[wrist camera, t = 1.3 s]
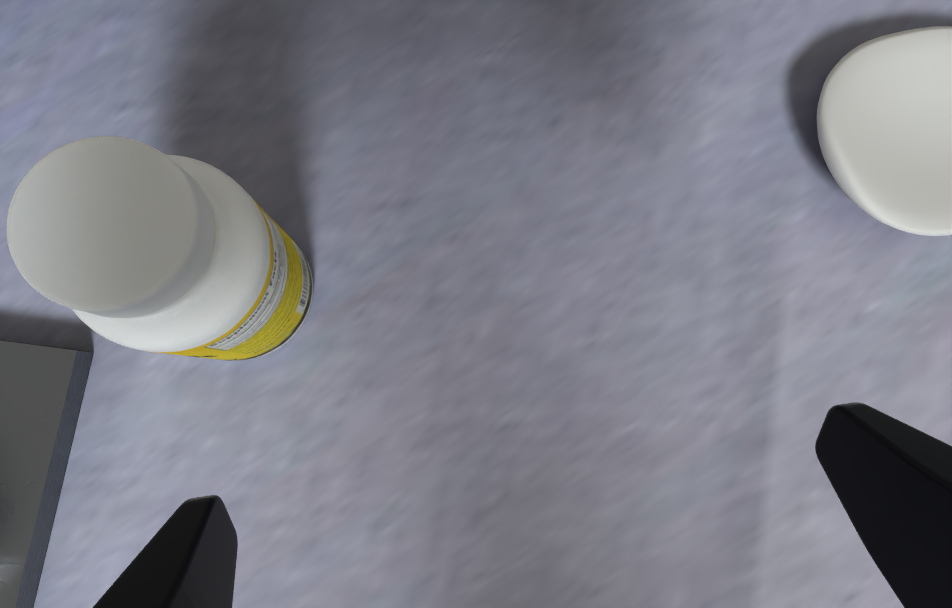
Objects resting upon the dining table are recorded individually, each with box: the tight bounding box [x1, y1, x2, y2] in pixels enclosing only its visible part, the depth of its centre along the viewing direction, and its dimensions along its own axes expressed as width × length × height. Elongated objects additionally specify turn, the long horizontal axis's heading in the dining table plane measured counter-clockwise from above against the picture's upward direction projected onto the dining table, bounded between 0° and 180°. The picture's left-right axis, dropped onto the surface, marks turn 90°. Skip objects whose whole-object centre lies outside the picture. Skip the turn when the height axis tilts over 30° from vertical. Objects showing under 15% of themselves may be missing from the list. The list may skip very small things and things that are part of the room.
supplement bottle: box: [7, 136, 313, 360], centre depth 17 cm, size 5×5×10 cm
